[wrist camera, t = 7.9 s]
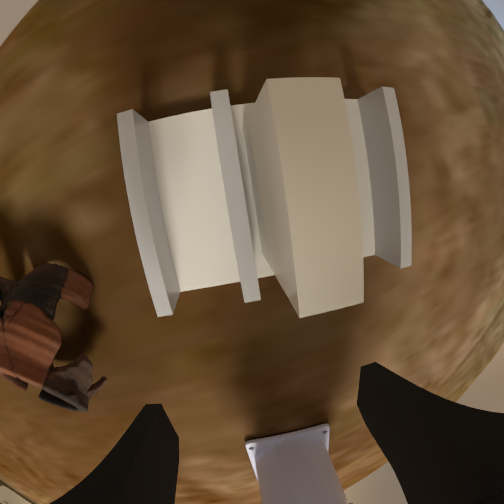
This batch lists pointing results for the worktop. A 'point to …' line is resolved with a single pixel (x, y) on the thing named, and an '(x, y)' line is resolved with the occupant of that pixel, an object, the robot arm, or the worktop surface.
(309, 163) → the beige rectangular block
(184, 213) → the dish rack
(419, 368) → the worktop surface
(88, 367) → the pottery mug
